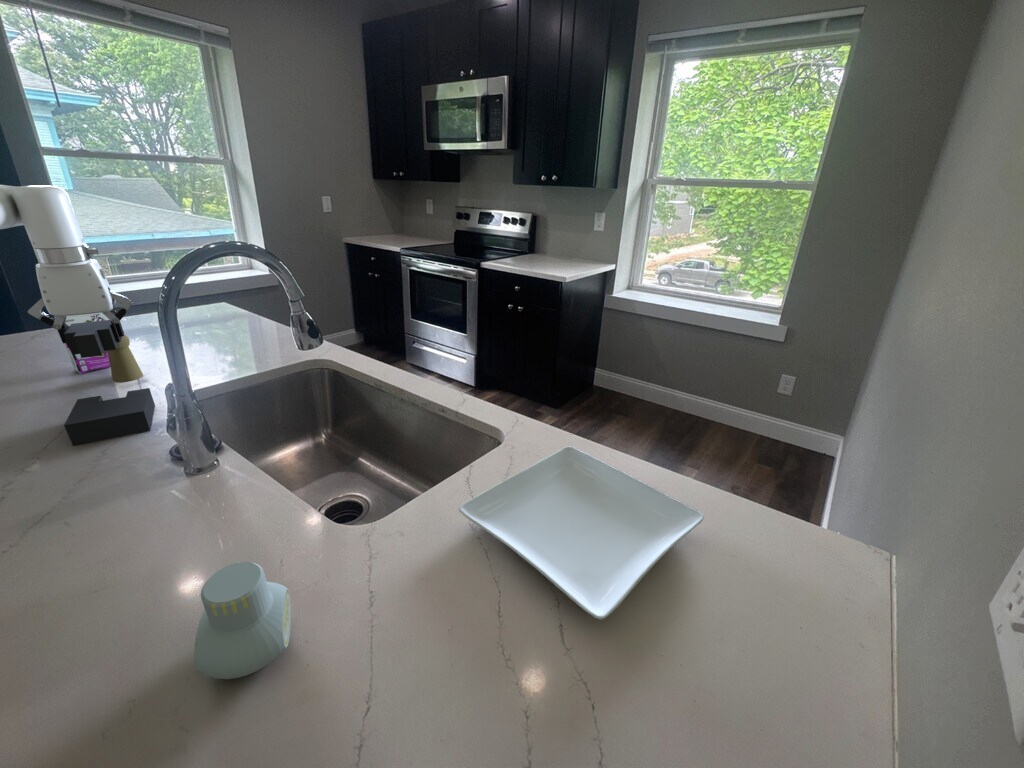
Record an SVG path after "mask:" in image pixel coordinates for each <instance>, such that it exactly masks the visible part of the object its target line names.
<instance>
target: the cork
mask: <svg viewBox="0 0 1024 768" xmlns="http://www.w3.org/2000/svg"><path fill="white" fill-rule="evenodd" d="M130 345H131V340H130V338H129V336H128V335H126V334H124V336H122V340H121V342H119V344H118V346H117V349H115V350H108V357H109V362H110V367H109V368H110V373H111V379H112V381H113V382H114V383H115V382H116V383H126V382H131V381H136V380H138V379H140V378H142V377H143V376H144V374H143V371H142V369H141V367H140V366H139V364H138V362H137V359H136V358H135V356H134V354H133V352H132V350H131V348H130Z"/></svg>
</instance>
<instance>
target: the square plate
mask: <svg viewBox="0 0 1024 768" xmlns="http://www.w3.org/2000/svg"><path fill="white" fill-rule="evenodd" d="M458 512H459V513H460V514H461V515H462V516H464V517H465V518H466V519H468V520H469V521H470V522H472V523H474V525H476V526H478V527H479V528H481V529H482V530H483V531H485V532H487V533H488V534H490V535H491V536H492V537H494V538H495V539H497V540H498V541H500V542H501V543H502V544H503V545H505V546H506V547H508V548H510V549H511V550H512V551H513V552H515V553H516V554H517V555H518V556H519V557H520V558H522V559H523V560H524V561H526V562H527V563H528V564H529V565H530V566H531V567H533V568H534V569H535V570H537V571H538V572H539V573H540V574H541V575H542V576H544V578H546V579H547V580H548V581H549V582H550V583H552V584H553V585H554V587H556V588H557V589H559V590H560V592H562V593H563V594H564V595H566V596H567V597H568V598H569V599H570V600H571V601H572V602H574V603H575V604H576V605H577V606H578V607H580V608H581V610H583V611H584V612H586V613H587V614H589V616H591V617H593V618H595V619H597V620H605V619H606V618H608V617H609V616H610V615H611V614H613V613H614V611H615V610H616V609H617V608H618V607H619V606H620V604H622V602H623V601H624V600H625V599H626V597H628V595H629V594H630V593H631V591H633V590H634V588H635V587H636V586H637V585H638V583H639V582H641V580H642V579H643V578H644V577H645V576H646V574H648V572H649V571H650V570H651V569H652V568H653V567H654V566H655V565H656V563H657V562H659V561H660V559H661V558H662V557H664V556H665V555H666V553H668V552H669V551H670V550H672V548H673V547H674V546H676V544H678V543H679V542H680V541H681V540H682V539H684V538H685V537H686V536H688V534H689V533H690V532H692V531H694V529H696V527H697V526H699V525H700V524H701V523H702V522H703V521H704V519H705V515H704V513H703V512H702V511H700V510H698V509H696V508H694V507H692V506H690V505H689V504H686V503H685V502H683V501H681V500H678V499H677V498H675V497H673V496H671V495H670V494H667V493H665V492H664V491H662V490H659V489H658V488H656V487H654V486H652V485H650V484H648V483H646V482H644V481H642V480H641V479H639V478H637V477H634V476H633V475H631V474H629V473H628V472H625V471H623V470H621V469H619V468H617V467H615V466H613V465H611V464H609V463H607V462H605V461H603V460H601V459H599V458H597V457H595V456H593V455H592V454H589V453H587V452H585V451H583V450H580V449H579V448H577V447H574V446H572V445H566V446H564V447H563V448H561V449H559V450H557V451H556V452H554V453H552V454H550V455H548V456H546V457H544V458H542V459H541V460H539V461H536V463H535V462H534V463H533V464H532V465H530V466H528V467H527V468H524V469H522V470H521V471H519V472H517V473H516V474H513V475H511V476H510V477H508V478H506V479H504V480H503V481H501V482H499V483H497V484H496V485H494V486H492V487H490V488H488V489H487V490H485V491H482V492H481V493H479V494H477V495H475V496H474V497H472V498H470V499H469V500H467V501H465V502H464V503H462V504H460V505H459V507H458Z"/></svg>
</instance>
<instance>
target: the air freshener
mask: <svg viewBox="0 0 1024 768" xmlns="http://www.w3.org/2000/svg"><path fill="white" fill-rule="evenodd" d="M200 599H201V602H202V605H203V607H204V609H203V611H202V612H201V613H202V614H201V616H200V619H199V622H198V625H197V630H196V633H195V634H196V635H195V641H194V655H193V658H194V666H195V670H197V671H198V672H199V673H200V674H202V675H203V676H206V677H208V678H211V679H218V680H232V679H238V678H242V677H246V676H248V675H251V674H254V673H256V672H258V671H260V670H261V669H264V668H265V667H267V666H269V664H271V663H272V662H273V661H275V660H276V659H277V658H278V657H280V655H281V654H282V653H283V652H284V651H285V650H286V649H287V647H288V645H289V643H290V636H291V627H292V624H291V623H292V604H291V603H292V602H291V601H292V600H291V594H290V590H289V588H288V587H286V586H284V585H282V584H280V583H277V582H274V581H273V582H272V581H268V580H267V578H266V575H265V571H264V569H263V567H262V566H261V565H260V564H258V563H255V562H249V561H240V562H239V561H238V562H234V563H232V564H228V565H226V566H224V567H222V568H220V569H219V570H217V571H216V572H214V573H213V574H212V575H211V576H210V577H209V578H208V579H207V580H206V581H205V583H204V584H203V586H202V587H201V590H200Z"/></svg>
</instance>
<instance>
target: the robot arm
mask: <svg viewBox="0 0 1024 768" xmlns="http://www.w3.org/2000/svg"><path fill="white" fill-rule="evenodd" d="M79 224H80V223H79V221H78V218H77V215H76V213H75V209H74V207H73V204H72V201H71V199H70V196H69V194H68V192H67V191H66V190H65V189H64V188H62V187H60V186H55V185H21V186H16V185H15V186H13V185H7V184H0V230H4V229H5V230H6V229H10V228H14V227H20V226H21V227H22V226H23V227H24V229H25V231H26V234H27V236H28V239H29V241H30V244H31V246H32V249H33V251H34V254H35V257H36V259H37V262H38V263H36V264H35V272H36V278H37V283H38V287H39V290H40V291H39V292H40V294H41V298H40V299H39V300H37V302H35V303H34V304H33V305H32V306H31V307H30V308H29V309H27V314H28V315H30V316H32V317H34V318H36V319H37V320H40V321H41V323H44V324H46V325H47V326H49V327H52V328H53V329H55V330H57V333H58V335H59V338H60V340H61V342H62V344H65V343H66V344H67V347H68V348H69V346H68V343H67V341H66V338H65V336H64V333H65V331H66V330H67V329H68V328H69V326H68V325H66V323H65V320H66V317H67V316H71V315H82V314H92V313H103V314H104V315H105V316H106V317H107V318H108V319H110V320H111V324H110V326H111V329H112V332H113V335H114V337H115V340H116V342H121V340H122V336H124V335H125V331H124V329H123V326H122V323H121V320H122V319H123V318H124V317H125V315H126V314H127V312H129V310H130V308H131V307H132V305H133V302H134V301H133V300H132V299H131V298H128V297H126V296H124V295H121V294H120V293H117V292H115V291H113V290H112V287H111V285H110V284H109V283H110V282H109V281H108V278H107V276H106V275H105V272H104V271H103V268H102V267H101V265H100V263H99V261H98V260H97V259H92V258H93V257H94V256H99V250H98V248H97V247H89V245H88V244H87V243H86V242H85V239H84V235H83V232H82V230H81V226H80V225H79ZM116 302H117V303H119V304H121V306H120V308H119V309H118V310H116V309H115V310H116V311H115V310H113V309H112V308H113V306H114V307H115V305H116ZM44 307H45V309H46V311H47V312H48V313H49V314H47V313H45V312H44V311H43V308H44ZM55 316H56V317H55Z"/></svg>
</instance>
